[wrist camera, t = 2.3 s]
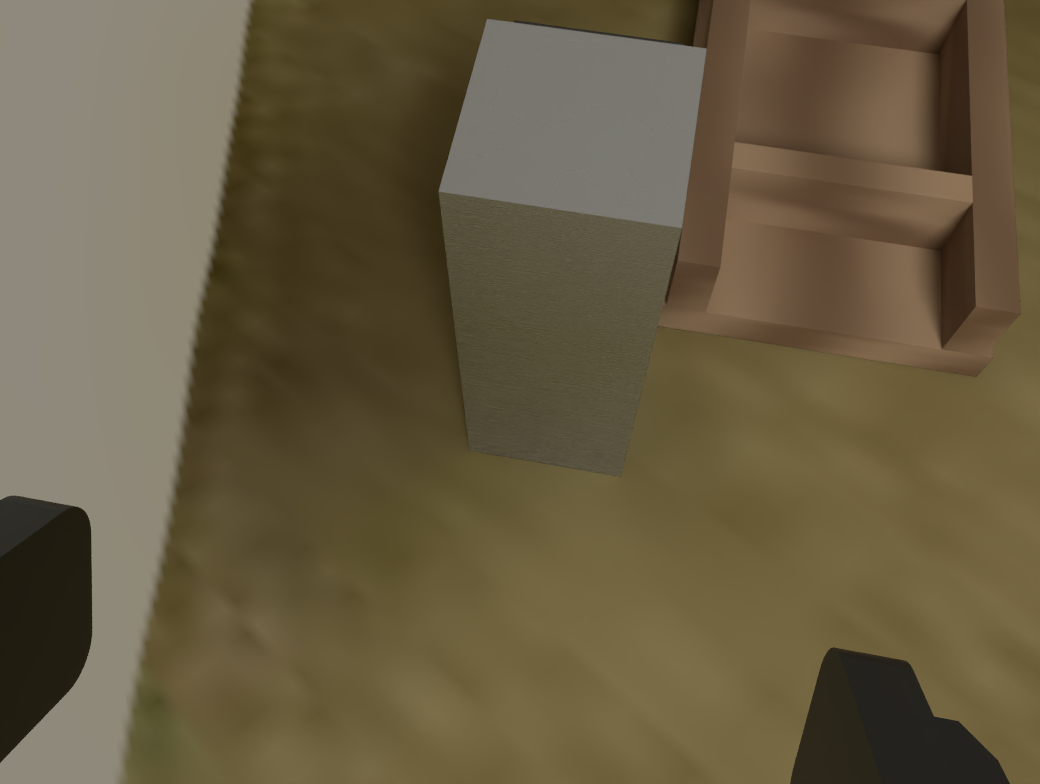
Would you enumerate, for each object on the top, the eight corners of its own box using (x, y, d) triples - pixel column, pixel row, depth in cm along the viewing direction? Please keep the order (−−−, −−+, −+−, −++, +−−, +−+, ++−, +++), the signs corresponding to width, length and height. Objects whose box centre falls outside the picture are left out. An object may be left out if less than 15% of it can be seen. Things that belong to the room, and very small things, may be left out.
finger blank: (643, 327, 30) (709, 27, 20) (620, 476, 28) (681, 228, 17) (502, 305, 31) (493, -2, 20) (469, 449, 29) (438, 191, 18)
